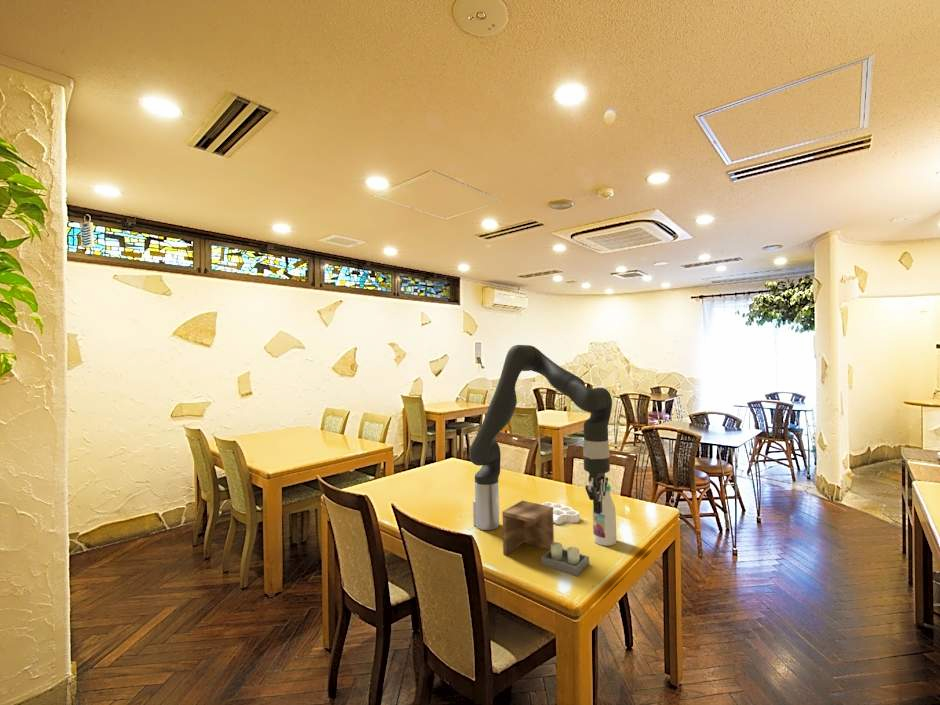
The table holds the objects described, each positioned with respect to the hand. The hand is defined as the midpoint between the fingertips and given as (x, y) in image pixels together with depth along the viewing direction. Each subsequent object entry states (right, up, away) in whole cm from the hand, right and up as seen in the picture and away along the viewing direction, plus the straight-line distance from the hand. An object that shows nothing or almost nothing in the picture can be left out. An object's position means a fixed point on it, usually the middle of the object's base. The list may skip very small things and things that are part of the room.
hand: (597, 512), depth 125 cm
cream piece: (-6, -18, +5) cm, 20 cm away
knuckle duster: (-2, -20, +46) cm, 50 cm away
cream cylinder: (-11, -18, +8) cm, 23 cm away
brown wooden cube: (-18, -19, +15) cm, 31 cm away
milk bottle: (+9, -19, +22) cm, 30 cm away
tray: (-8, -19, +6) cm, 22 cm away
